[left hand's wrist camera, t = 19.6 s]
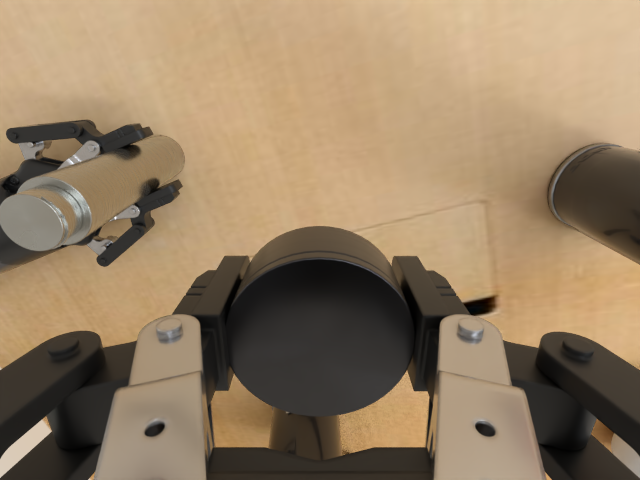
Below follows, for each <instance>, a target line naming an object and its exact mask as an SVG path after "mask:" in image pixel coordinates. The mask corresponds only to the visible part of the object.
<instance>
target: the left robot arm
mask: <svg viewBox="0 0 640 480" xmlns="http://www.w3.org/2000/svg"><path fill="white" fill-rule="evenodd" d="M548 202H549V207H550V209H551V211H552V213H553V214H554V216H555V217H556V218H557V219H559V220H560V221H562V222H563V223H565V224H567V225H569V226H572V227H575V228H576V229H577V230H578V231H579V232H581V233H583V234H584V235H586V236H588V237H590V238H592V239H594V240H595V241H597V242H599V243H601V244H603V245H605V246H606V247H608V248H610V249H612V250H614V251H616V252H617V253H619V254H621V255H623V256H625V257H627V258H628V259H630V260H632V261H634V262H636V263H638V264H639V265H640V151H638V150H633V149H628V148H624V147H621V146H618V145H613V144H607V143H600V144H594V145H590V146H587V147H584V148H582V149H580V150H578V151H577V152H575V153H574V154H572V155H571V156H570V157H568V158H567V159H566V160H565V161H564V162H563V163H562V164H561V165H560V167H559V168H558V169H557V171H556V172H555V174H554V176H553V178H552V180H551V183H550V186H549V191H548ZM249 264H250V261H249V257H248V256H225V257H224V258H223V260H222V261H221V263H220V265H219V267H218V268H217V270H208V271H207V272H205V273H204V274H202V275H200V276H199V277H197V278H196V280H195V281H194V283H193V284H192V286H191V288H190V289H189V290H188V292H187V293H186V296H184V297H183V299H182V300H181V302H180V303H179V305H178V306H177V308H176V309H175V311H174V312H173V314H172V315H169V316H165V317H161V318H159V319H156V320H154V321H152V322H150V323H149V324H147V325H146V326H145V327H144V328H143V329H142V330H141V331H140V333H139V335H138V339H137V341H134V342H130V343H125V344H120V345H115V346H110V347H105V348H103V346H102V342H101V339H100V336H99V335H98V334H96V333H94V332H91V331H75V332H70V333H66V334H62V335H59V336H56V337H54V338H51V339H49V340H47V341H45V342H44V343H42V344H40V345H39V346H37V347H36V348H34V349H33V350H31V351H29V352H28V353H26V354H25V355H23V356H22V357H20V358H19V359H17V360H15V361H14V362H12V363H11V364H9V365H8V366H6V367H5V368H3V369H2V370H0V458H1V456H2V455H3V454H4V452H5V451H6V450H7V449H8V448H9V447H10V446H11V445H12V444H13V443H14V442H16V441H17V440H18V439H19V438H20V437H22V436H23V435H24V434H25V433H26V432H27V431H29V430H30V429H31V428H32V427H33V426H35V425H36V424H37V423H38V422H39V421H40V420H42V419H43V418H44V417H45V416H47V419H48V422H49V424H50V427H51V430H52V432H51V433H50V434H49V435H48V436H47V437H45V438H44V439H43V440H42V441H41V442H40V443H39V444H38V445H37V446H35V447H34V448H33V449H32V450H31V451H30V452H29V453H28V454H27V455H25V456H24V457H23V458H22V459H21V460H20V461H19V462H18V463H17V464H16V465H14V466H13V467H12V468H11V469H10V470H9V471H8V472H7V473H6V474H4V475H3V476H2V477H1V478H0V480H88V479H89V478H90V477H91V476H92V474H93V473H94V472H95V475H94V480H546V475H545V472H546V473H547V474H548V476H549V477H550V478H551V479H552V480H640V478H639V477H638V476H637V475H636V474H635V473H633V472H632V471H631V470H630V469H629V468H628V467H627V466H626V465H625V464H623V463H622V462H621V461H620V460H619V459H618V458H617V457H616V456H615V455H613V454H612V453H611V452H610V451H609V450H608V449H607V448H606V447H605V446H603V445H602V444H601V443H600V442H599V441H598V440H597V439H596V438H595V437H593V436H592V435H591V432H592V429H593V427H594V424H595V421H596V419H598V420H600V421H601V422H602V423H603V424H604V425H605V426H607V427H608V428H609V429H610V430H611V431H613V432H614V433H615V434H616V435H617V436H618V437H620V438H621V439H622V440H623V441H624V442H626V443H627V444H628V445H629V446H630V447H631V448H633V449H634V450H635V452H636V453H637V454H638V455H639V457H640V370H639V369H637V368H635V367H634V366H632V365H631V364H629V363H628V362H626V361H625V360H623V359H621V358H620V357H618V356H617V355H615V354H614V353H612V352H611V351H609V350H607V349H606V348H604V347H603V346H601V345H600V344H598V343H596V342H594V341H592V340H590V339H588V338H585V337H582V336H579V335H576V334H572V333H566V332H550V333H547V334H545V335H544V336H543V337H542V338H541V341H540V345H539V348H536V347H531V346H525V345H520V344H515V343H511V342H507V341H504V340H503V339H502V335H501V333H500V331H499V330H498V329H497V328H496V327H495V326H494V325H493V324H491V323H490V322H488V321H486V320H484V319H481V318H479V317H475V316H471V315H470V313H469V312H468V310H467V309H466V307H465V306H464V305H463V303H462V302H461V300H460V299H459V297H458V296H456V293H455V292H454V290H453V289H451V286H450V284H449V283H448V281H447V280H446V278H444V277H443V276H441V275H440V274H438V273H437V272H435V271H426V270H425V268H424V267H423V265H422V263H421V262H420V260H419V258H418V257H417V256H394V257H393V260H392V269H393V271H394V273H395V276H396V278H397V280H398V283H399V285H400V287H401V290H402V292H403V294H404V297H405V299H406V301H407V304H408V306H409V309H410V311H411V314H412V317H413V320H414V326H415V346H414V353H413V356H412V359H411V362H410V365H409V366H408V368H407V371H408V374H409V377H410V380H411V383H412V386H413V389H414V391H428V394H429V396H430V398H429V405H428V413H427V426H426V438H425V447H375V448H371V449H367V450H363V451H359V452H355V453H351V454H347V455H343V456H339V457H335V458H331V459H327V460H313V459H309V458H305V457H301V456H297V455H293V454H289V453H285V452H281V451H277V450H273V449H269V448H265V447H215V438H214V426H213V413H212V405H211V400H212V398H213V395H214V392H215V391H228V390H229V387H230V384H231V381H232V377H233V374H234V372H233V370H232V368H231V366H230V362H229V354H228V345H227V336H226V327H225V321H226V318H227V314H228V312H229V309H230V307H231V305H232V302H233V300H234V297H235V295H236V293H237V290H238V288H239V286H240V283H241V281H242V279H243V276H244V274H245V272H246V269H247V267H248V265H249Z"/></svg>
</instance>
